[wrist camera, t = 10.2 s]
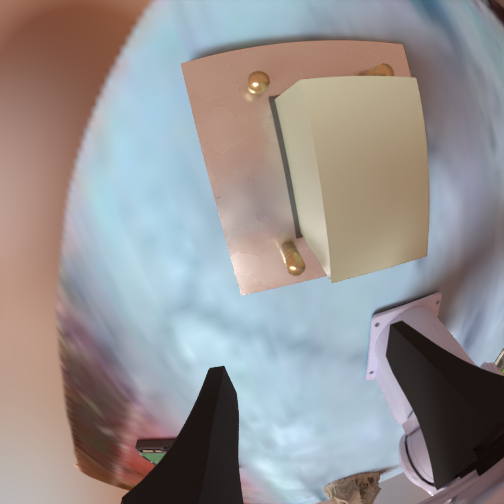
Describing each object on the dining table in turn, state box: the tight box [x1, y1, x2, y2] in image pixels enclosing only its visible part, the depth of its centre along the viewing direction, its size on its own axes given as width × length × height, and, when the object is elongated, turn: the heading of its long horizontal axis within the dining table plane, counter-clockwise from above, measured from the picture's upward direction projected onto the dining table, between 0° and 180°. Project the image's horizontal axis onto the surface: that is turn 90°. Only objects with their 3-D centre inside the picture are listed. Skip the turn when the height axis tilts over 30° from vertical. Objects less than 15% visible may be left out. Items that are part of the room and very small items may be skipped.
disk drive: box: [136, 439, 175, 465], centre depth 32 cm, size 10×3×15 cm
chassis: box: [181, 40, 411, 295], centre depth 14 cm, size 15×14×4 cm
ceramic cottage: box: [324, 472, 381, 504], centre depth 42 cm, size 16×16×15 cm
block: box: [275, 76, 429, 283], centre depth 12 cm, size 8×5×6 cm, turn 12°
